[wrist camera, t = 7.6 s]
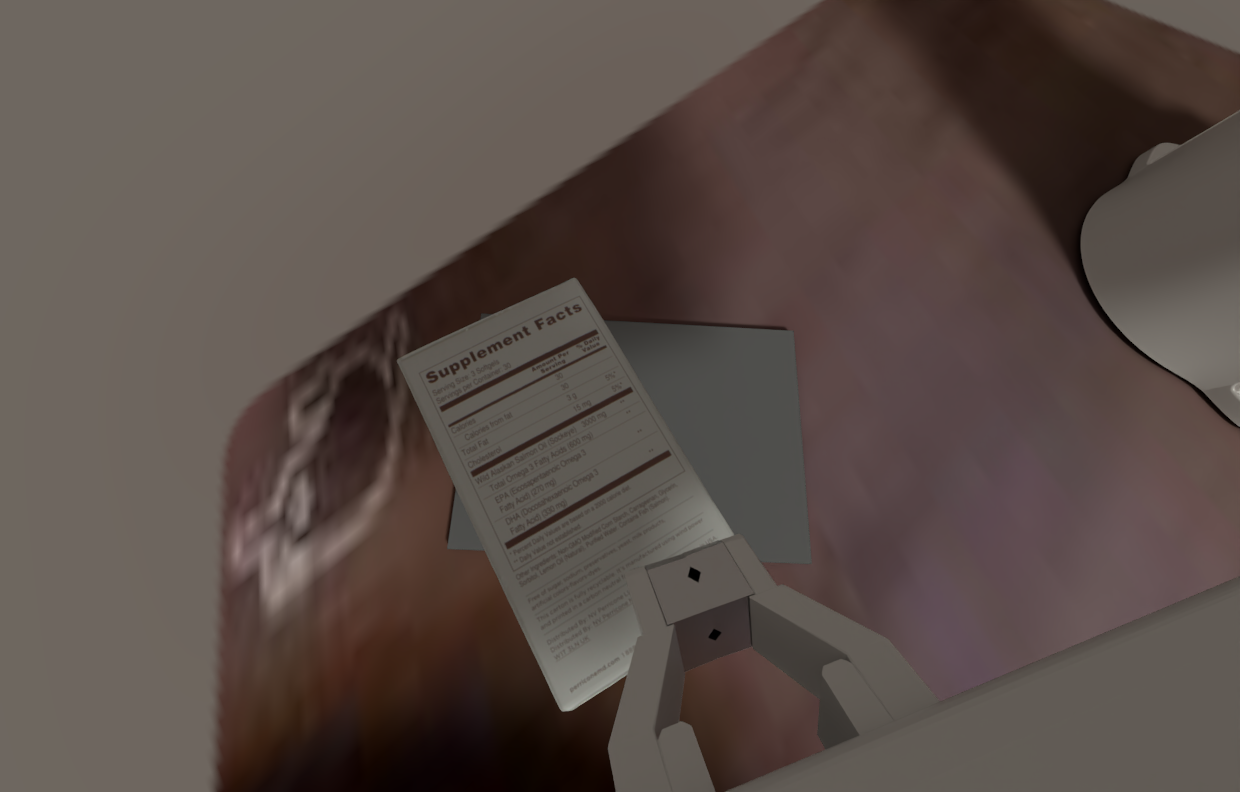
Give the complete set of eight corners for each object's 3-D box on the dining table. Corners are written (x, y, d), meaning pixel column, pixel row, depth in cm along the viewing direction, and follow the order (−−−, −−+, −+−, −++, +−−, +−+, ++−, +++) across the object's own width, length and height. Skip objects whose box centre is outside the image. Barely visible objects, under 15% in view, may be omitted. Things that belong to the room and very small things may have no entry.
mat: (790, 334, 25) (793, 330, 25) (807, 563, 21) (811, 563, 21) (483, 316, 25) (481, 313, 24) (450, 548, 21) (447, 548, 21)
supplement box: (572, 657, 20) (454, 412, 23) (714, 566, 21) (584, 346, 24) (556, 726, 12) (387, 357, 16) (771, 583, 14) (576, 268, 17)
